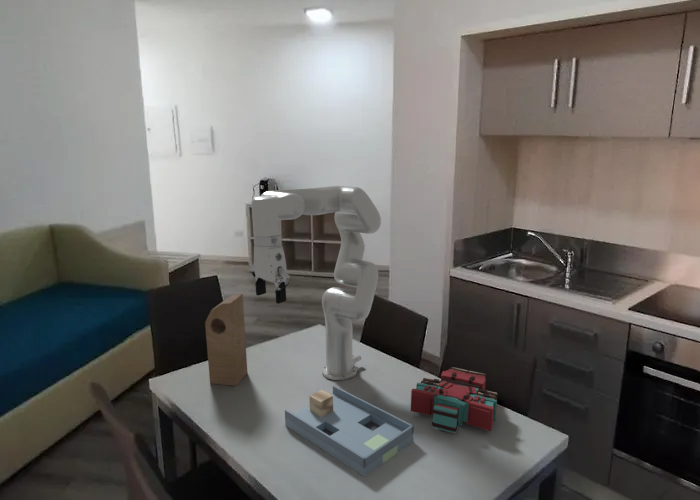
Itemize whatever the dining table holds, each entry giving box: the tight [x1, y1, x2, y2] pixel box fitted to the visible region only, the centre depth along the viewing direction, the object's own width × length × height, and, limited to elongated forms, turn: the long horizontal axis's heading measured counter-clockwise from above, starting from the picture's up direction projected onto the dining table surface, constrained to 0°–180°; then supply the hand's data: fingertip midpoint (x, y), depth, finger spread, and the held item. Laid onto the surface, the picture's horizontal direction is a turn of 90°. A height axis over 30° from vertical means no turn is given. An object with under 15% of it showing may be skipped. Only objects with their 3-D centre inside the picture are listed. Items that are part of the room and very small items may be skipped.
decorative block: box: [204, 293, 248, 387], centre depth 170 cm, size 10×10×30 cm
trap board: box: [284, 385, 415, 477], centre depth 141 cm, size 20×32×5 cm, turn 45°
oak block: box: [309, 389, 333, 417], centre depth 148 cm, size 5×5×5 cm
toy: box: [410, 366, 498, 435], centre depth 152 cm, size 24×9×30 cm
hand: (271, 298), depth 142 cm, fingers open, 9 cm apart
